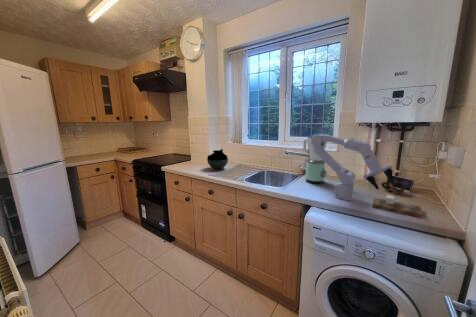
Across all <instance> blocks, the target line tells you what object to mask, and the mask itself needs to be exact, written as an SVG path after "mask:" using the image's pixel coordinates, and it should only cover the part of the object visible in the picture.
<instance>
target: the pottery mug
mask: <svg viewBox="0 0 476 317" xmlns="http://www.w3.org/2000/svg"><path fill="white" fill-rule="evenodd" d="M393 182H394V183H393V184H391V183H390V182H387V181H382V183H381V187H382V188H384V190H385V191H389V190H391V194H393V195H396V194H401V193H404V192H405V185H404V184H403V183H401V182H400V181H394V180H393ZM396 185H397V186H398V185H399V187H402V188H397V187H396Z"/></svg>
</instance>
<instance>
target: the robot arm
mask: <svg viewBox="0 0 476 317" xmlns="http://www.w3.org/2000/svg"><path fill="white" fill-rule="evenodd" d="M312 136H313V137H312V140H311V144H312V145H313V148H314V151H315V153H316V154H317V155H318V156H319V157H320V158H321V159H322V160H323V161H324V162H325V165H327V166H329V167H330V169H331V170H332V171H334V172H335V173H336V176H337V177H338V179H339V181H336V183H335V188H334V190H335V191H334V198H336V199H341V200H344V201H345V200H346V201H350V202H352V201H353V200H354V198H355V196H354V194H353V193H354V187H355V186H354V185H355V183H354V180H355V179H356V174H355V173H354V172H353V171H352V170H351V171H350V170H348V169H347V168H346V167H344V166H342V164H341V163H339V162H338V161H337V160H336V159H335V158H334V157H333V156H332V155H331V154H330V153H329V152H327V151H326V149H325V150H324V144H325V142H327V143H329V142H330V143H333V144H337V145H340V146H341V145H342V146H343V147H344V149H348V150H351V151H353V152H358V153H359V154H360V155H361V156H362V159H363V161H364V162H365V164H366V166H367V168H368V169H369V172H368V173H366V174H364V175H362V177H363V179H364V180H366V181H367V182H369V183H370V184H371V185H372V186H374V188H375V190H380V187H379V186H378V184H377V182H376V179H375V175H378V174H379V175H380V174H382V173H384V175H385V176H386V177H387V180H388V183H391V184H393V183H394V182H393V181H394V178H393V172H394V171H393V166H392V165H391V164H388V165H386V166H383V167H382V166H381V163H380V162H379V160H378V157H377V156H376V154H375V153H374V151H373V150H372V146H371V144H370V143H368V142H366V141H365V142H363V140H360V141H359V140H355V139H354V138H352V137H351V138H347V139H343V138H341V137H338V136H333V135H331V134H326V133H325V134H324V133H319V134H314V135H312Z"/></svg>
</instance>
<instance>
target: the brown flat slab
mask: <svg viewBox="0 0 476 317" xmlns="http://www.w3.org/2000/svg"><path fill="white" fill-rule="evenodd" d="M371 208H374V209H377V210H378V209H379V210H383V211H387V212H392V213H395V214H401V215H406V216H410V217H413V218H418V219H423V216H424V213H423V210H422V207H421V206H419V205H414V204H410V203H405V202H400V201H399V202H398V201H394V200H393V205H391V204H386V199H384V198H379V197H378V198H377V197H373V200H372V207H371Z"/></svg>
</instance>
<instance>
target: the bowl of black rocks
mask: <svg viewBox="0 0 476 317" xmlns="http://www.w3.org/2000/svg"><path fill="white" fill-rule="evenodd" d="M223 150H224V149H223V148H221V149H219V150H217V149H215V150H213V151H212V153H211V154H208V155H207V159H206V161H207V164H208V166H209V167H210V168H212V169H214V170H222V169H223V168H225V167H226V166H227V165H228V161H229V158H228V155H226V154H225V153H224V152H223Z"/></svg>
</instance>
